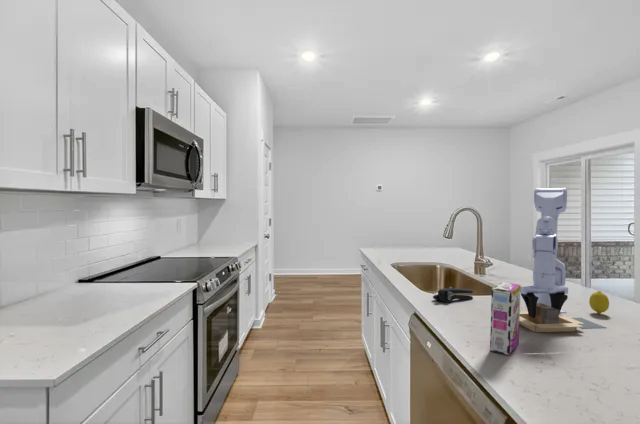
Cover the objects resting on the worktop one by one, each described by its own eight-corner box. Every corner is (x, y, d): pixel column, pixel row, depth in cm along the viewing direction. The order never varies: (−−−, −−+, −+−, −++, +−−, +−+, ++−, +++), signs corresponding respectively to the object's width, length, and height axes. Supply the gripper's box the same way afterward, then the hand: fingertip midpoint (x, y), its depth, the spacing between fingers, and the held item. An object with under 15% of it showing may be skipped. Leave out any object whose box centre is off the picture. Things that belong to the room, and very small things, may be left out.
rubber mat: (558, 319, 123) (558, 318, 123) (580, 318, 123) (580, 317, 123) (582, 329, 113) (582, 328, 113) (606, 328, 113) (606, 327, 113)
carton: (501, 319, 123) (501, 311, 122) (552, 318, 124) (552, 310, 124) (532, 336, 107) (533, 327, 107) (591, 334, 108) (591, 326, 108)
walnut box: (529, 321, 119) (529, 303, 119) (540, 321, 119) (540, 302, 119) (546, 329, 111) (546, 310, 111) (558, 329, 112) (558, 309, 111)
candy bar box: (510, 356, 92) (511, 291, 92) (489, 351, 95) (490, 288, 95) (520, 343, 101) (521, 284, 100) (500, 339, 104) (501, 281, 104)
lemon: (600, 316, 126) (601, 293, 126) (585, 312, 131) (585, 289, 131) (612, 315, 127) (613, 292, 127) (597, 311, 133) (597, 288, 133)
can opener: (442, 305, 140) (442, 290, 140) (430, 300, 147) (431, 286, 147) (479, 301, 146) (479, 287, 146) (466, 297, 153) (467, 283, 153)
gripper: (530, 275, 110) (529, 320, 111) (576, 275, 112) (575, 320, 112) (516, 271, 117) (515, 314, 118) (559, 271, 119) (558, 313, 119)
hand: (543, 316), depth 115 cm, fingers open, 7 cm apart
